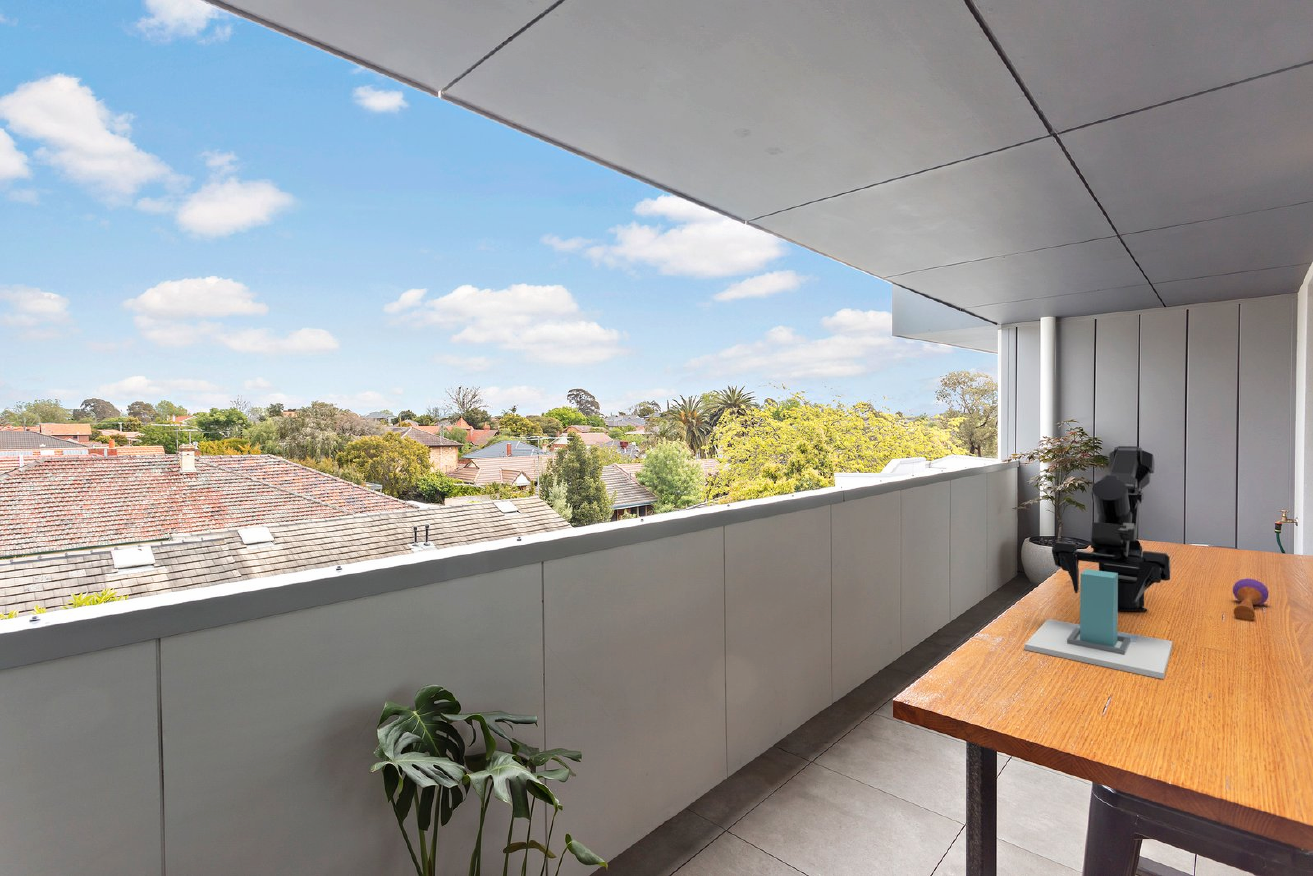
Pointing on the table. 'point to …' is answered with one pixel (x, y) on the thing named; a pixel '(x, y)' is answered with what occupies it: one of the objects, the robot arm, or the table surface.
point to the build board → (1103, 649)
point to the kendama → (1248, 597)
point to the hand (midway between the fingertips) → (1104, 596)
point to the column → (1099, 607)
